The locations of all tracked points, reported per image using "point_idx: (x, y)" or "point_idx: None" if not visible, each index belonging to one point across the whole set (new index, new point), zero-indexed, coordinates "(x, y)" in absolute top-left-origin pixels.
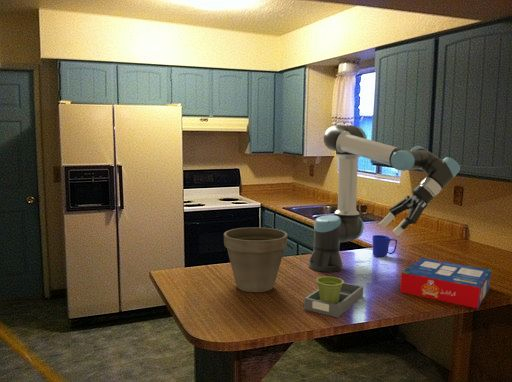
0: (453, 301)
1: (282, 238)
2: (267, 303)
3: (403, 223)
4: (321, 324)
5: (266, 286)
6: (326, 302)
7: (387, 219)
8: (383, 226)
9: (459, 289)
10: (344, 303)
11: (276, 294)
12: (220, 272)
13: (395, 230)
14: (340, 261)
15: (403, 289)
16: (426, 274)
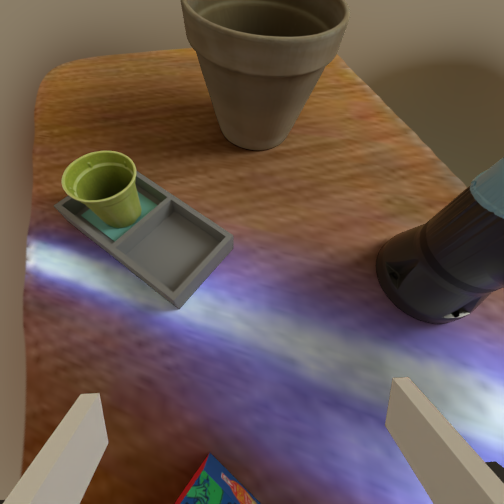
0: None
1: (207, 24)
2: (168, 133)
3: None
4: (47, 188)
5: (221, 127)
6: None
7: (449, 481)
8: (392, 421)
9: None
10: (79, 227)
11: (211, 150)
12: (329, 95)
13: (68, 421)
14: (425, 304)
15: (201, 465)
16: None
